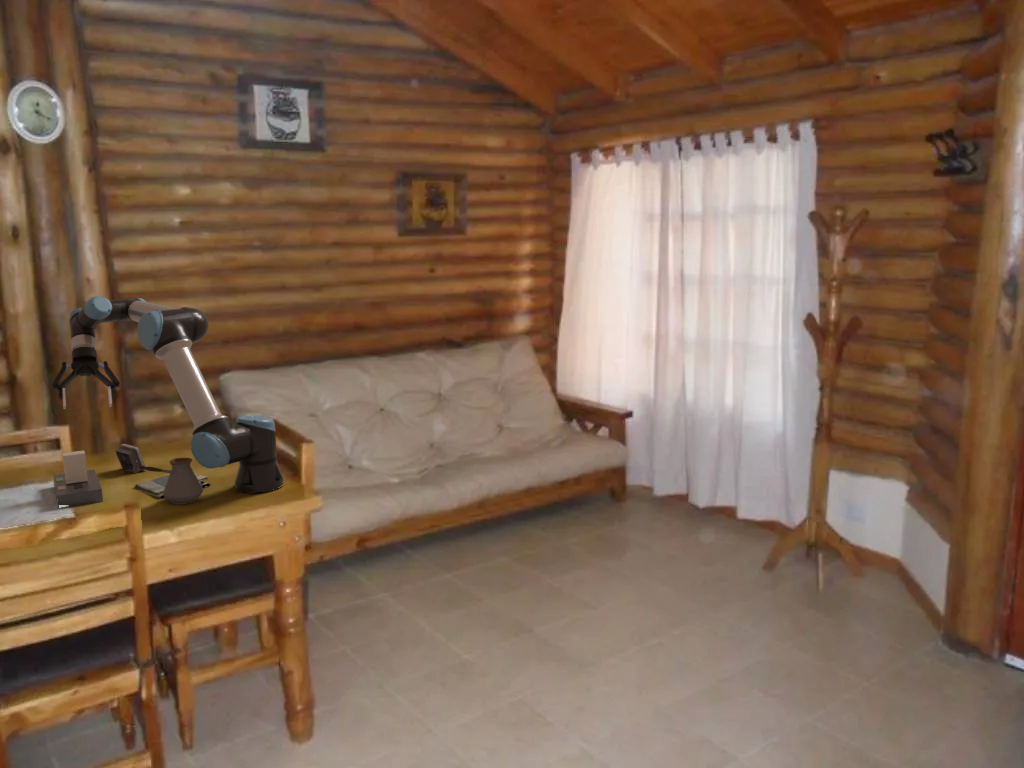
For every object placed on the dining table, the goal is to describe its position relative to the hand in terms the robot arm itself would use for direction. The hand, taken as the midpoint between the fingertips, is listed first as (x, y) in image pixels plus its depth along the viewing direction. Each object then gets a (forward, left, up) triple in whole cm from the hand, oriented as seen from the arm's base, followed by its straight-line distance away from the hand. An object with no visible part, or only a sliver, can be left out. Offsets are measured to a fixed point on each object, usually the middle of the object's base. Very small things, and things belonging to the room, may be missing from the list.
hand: (87, 406), depth 271 cm
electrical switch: (0, -12, -24) cm, 27 cm away
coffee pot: (-44, -17, -24) cm, 53 cm away
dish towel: (-26, -21, -25) cm, 42 cm away
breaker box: (-18, +6, -24) cm, 31 cm away
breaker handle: (-18, +6, -20) cm, 28 cm away
